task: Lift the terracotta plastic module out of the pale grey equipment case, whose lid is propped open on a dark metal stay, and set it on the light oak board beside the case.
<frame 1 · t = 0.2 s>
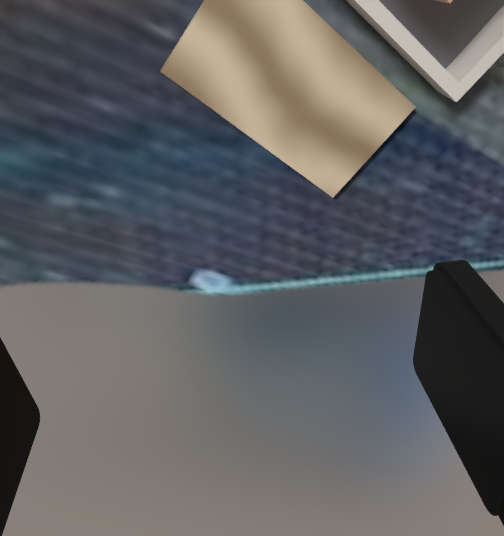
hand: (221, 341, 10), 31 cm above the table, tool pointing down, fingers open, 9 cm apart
oak board: (292, 87, 37), on the table
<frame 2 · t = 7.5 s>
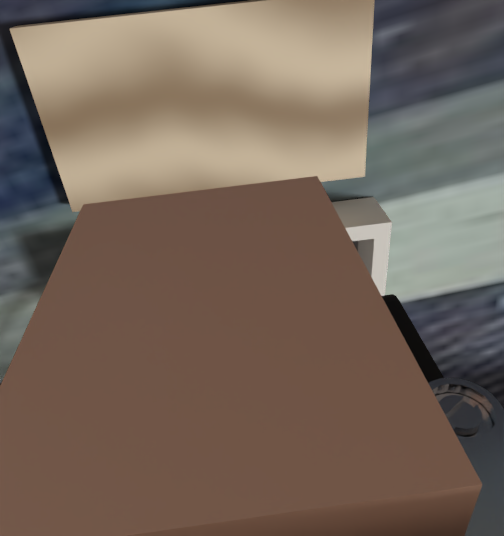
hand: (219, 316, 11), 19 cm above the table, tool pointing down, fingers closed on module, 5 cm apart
equipment case: (233, 288, 34), on the table
oak board: (208, 106, 26), on the table
module: (219, 300, 12), point 18 cm above the table, touching gripper
when the fingers open (3 cm above the table, at t = 11.0 s): module drops 1 cm, resting on oak board.
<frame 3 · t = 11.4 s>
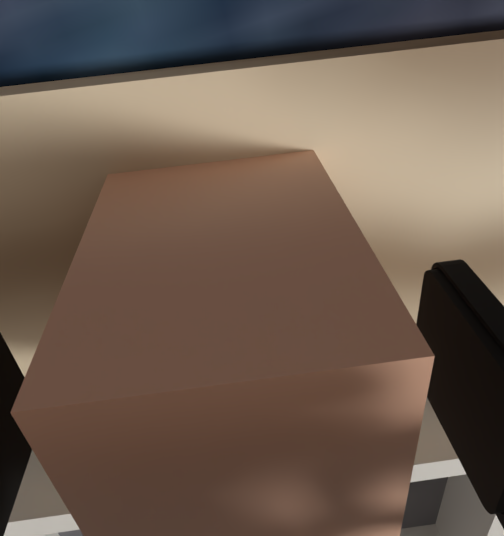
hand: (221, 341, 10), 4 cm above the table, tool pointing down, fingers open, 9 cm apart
equipment case: (253, 487, 21), on the table
oak board: (215, 246, 14), on the table
module: (225, 264, 13), point 1 cm above the table, touching oak board
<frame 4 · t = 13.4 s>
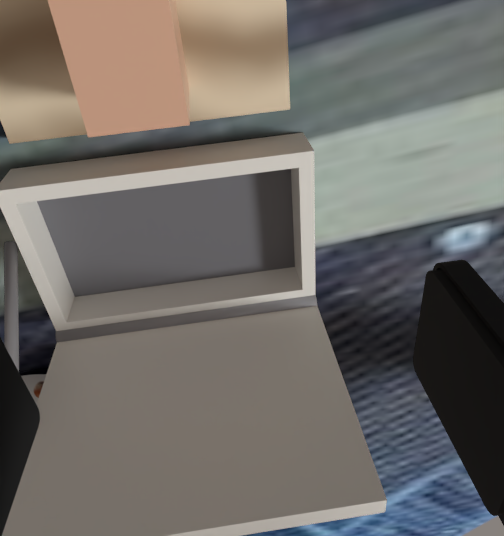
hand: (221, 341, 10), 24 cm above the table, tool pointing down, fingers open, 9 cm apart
equipment case: (174, 226, 35), on the table
oak board: (135, 38, 28), on the table
spread jar: (66, 380, 43), on the table
module: (137, 40, 27), point 1 cm above the table, touching oak board
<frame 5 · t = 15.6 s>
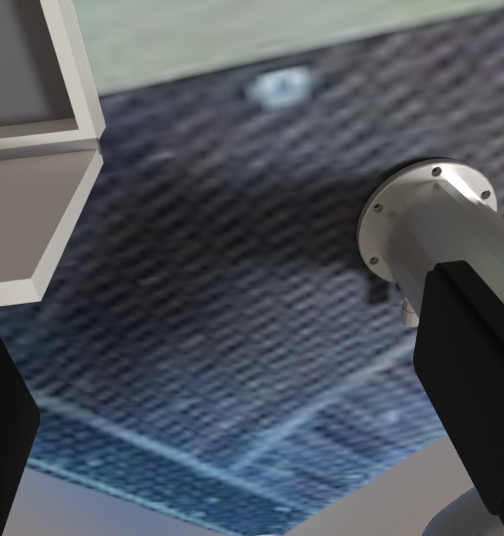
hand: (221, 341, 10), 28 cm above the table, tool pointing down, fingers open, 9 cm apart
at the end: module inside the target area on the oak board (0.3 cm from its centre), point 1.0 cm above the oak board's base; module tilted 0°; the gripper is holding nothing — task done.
